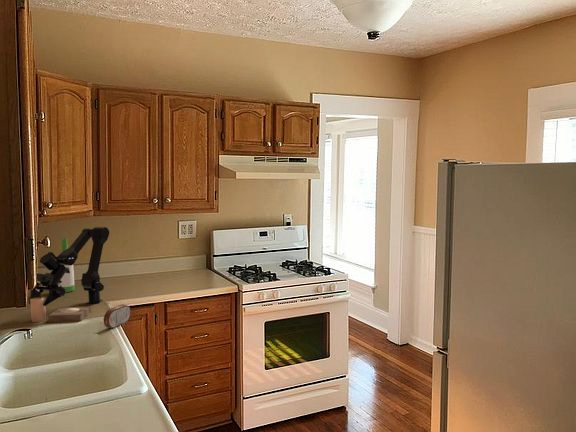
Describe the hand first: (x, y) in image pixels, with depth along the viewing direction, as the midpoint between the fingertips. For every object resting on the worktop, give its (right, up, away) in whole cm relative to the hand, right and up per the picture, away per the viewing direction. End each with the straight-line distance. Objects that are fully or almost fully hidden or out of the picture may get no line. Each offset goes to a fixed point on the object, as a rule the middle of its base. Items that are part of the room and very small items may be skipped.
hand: (36, 304), depth 228 cm
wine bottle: (-11, -3, +58) cm, 59 cm away
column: (0, -7, +1) cm, 7 cm away
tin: (+40, -8, -9) cm, 42 cm away
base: (+13, -7, +5) cm, 16 cm away
